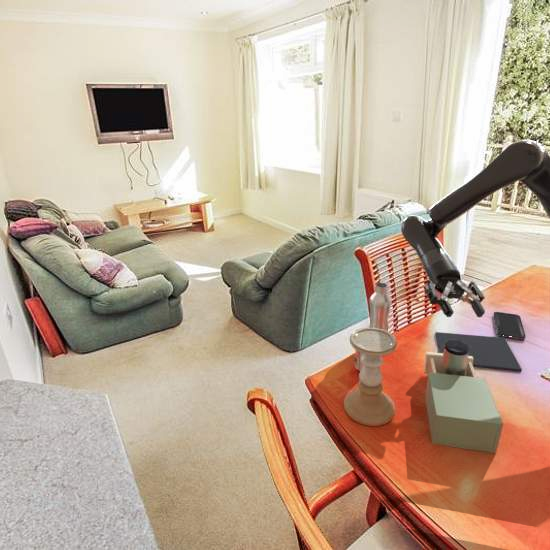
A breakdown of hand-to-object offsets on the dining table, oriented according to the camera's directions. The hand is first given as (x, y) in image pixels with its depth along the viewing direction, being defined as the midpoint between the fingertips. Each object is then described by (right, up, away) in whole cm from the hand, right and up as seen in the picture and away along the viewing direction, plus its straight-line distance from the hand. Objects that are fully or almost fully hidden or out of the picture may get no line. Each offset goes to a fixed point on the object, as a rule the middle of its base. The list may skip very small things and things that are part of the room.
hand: (466, 315), depth 92 cm
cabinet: (-5, -25, -5) cm, 26 cm away
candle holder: (-24, -23, +1) cm, 33 cm away
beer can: (-22, -17, +15) cm, 32 cm away
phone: (+30, -7, +31) cm, 43 cm away
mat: (+13, -13, +20) cm, 27 cm away
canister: (-2, -18, +4) cm, 19 cm away
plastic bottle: (-14, -12, +27) cm, 33 cm away
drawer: (-2, -19, +4) cm, 20 cm away
